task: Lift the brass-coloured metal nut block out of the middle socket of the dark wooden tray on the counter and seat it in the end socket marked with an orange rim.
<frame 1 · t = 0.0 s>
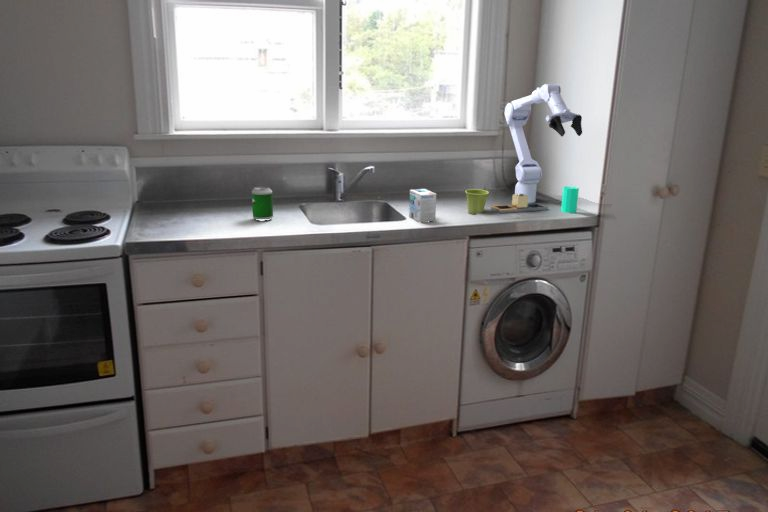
hand: (572, 134, 249), 32 cm above the worktop, tool tilted 50°, fingers open, 7 cm apart
light bulb box: (422, 219, 253), on the worktop
plant pot: (475, 213, 264), on the worktop
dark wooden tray: (519, 211, 267), on the worktop
candle: (568, 213, 266), on the worktop
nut: (519, 209, 267), point 1 cm above the worktop, touching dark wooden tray
soda can: (263, 220, 248), on the worktop
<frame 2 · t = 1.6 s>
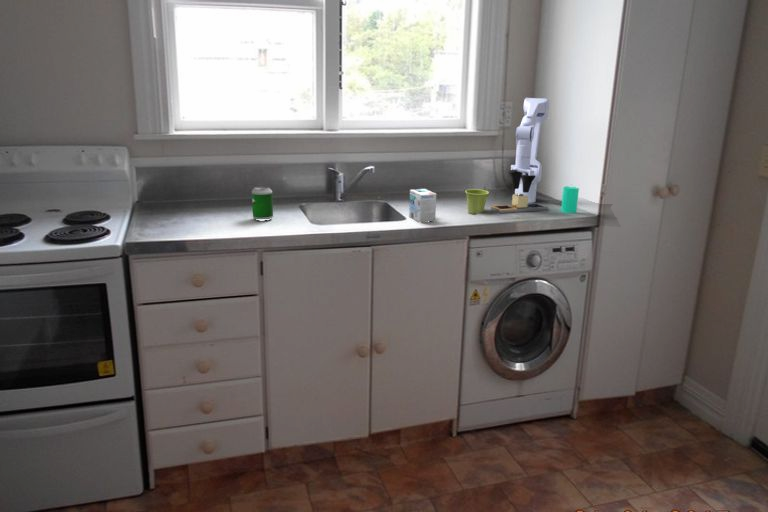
hand: (520, 190, 265), 9 cm above the worktop, tool pointing down, fingers open, 7 cm apart
nothing on the worktop moved.
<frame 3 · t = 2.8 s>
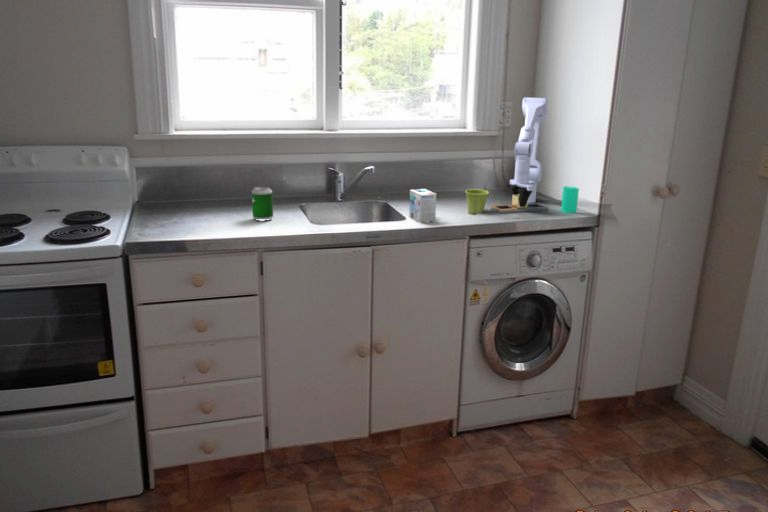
hand: (519, 205, 266), 3 cm above the worktop, tool pointing down, fingers closed on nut, 4 cm apart
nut: (519, 209, 267), point 1 cm above the worktop, touching gripper, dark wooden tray
everything else where it was.
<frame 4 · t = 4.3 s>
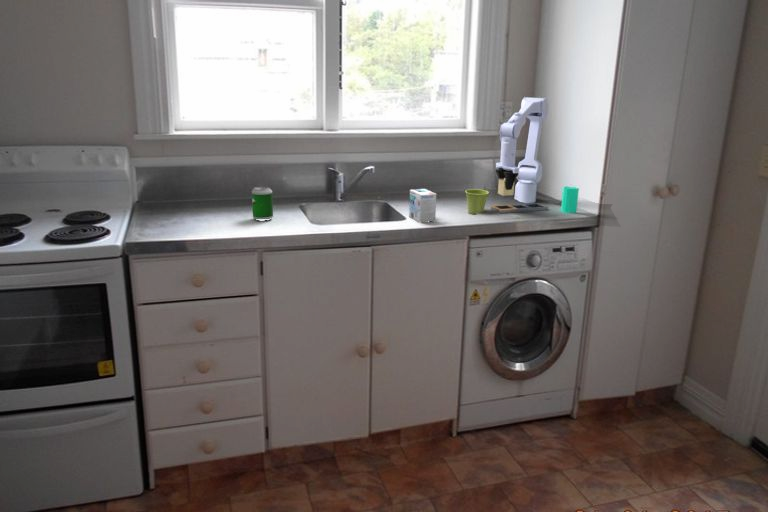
hand: (505, 188, 262), 10 cm above the worktop, tool pointing down, fingers closed on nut, 4 cm apart
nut: (505, 194, 263), point 8 cm above the worktop, touching gripper
everything else where it was.
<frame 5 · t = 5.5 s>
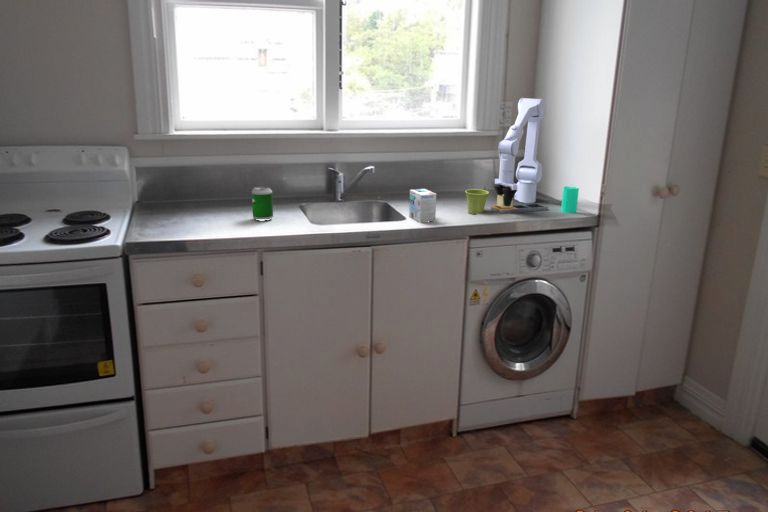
hand: (504, 204, 264), 3 cm above the worktop, tool pointing down, fingers closed on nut, 4 cm apart
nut: (504, 210, 265), point 1 cm above the worktop, touching gripper
everything else where it was.
when the fingers open (3 cm above the worktop, at t = 6.1 s): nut stays where it is, resting on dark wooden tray.
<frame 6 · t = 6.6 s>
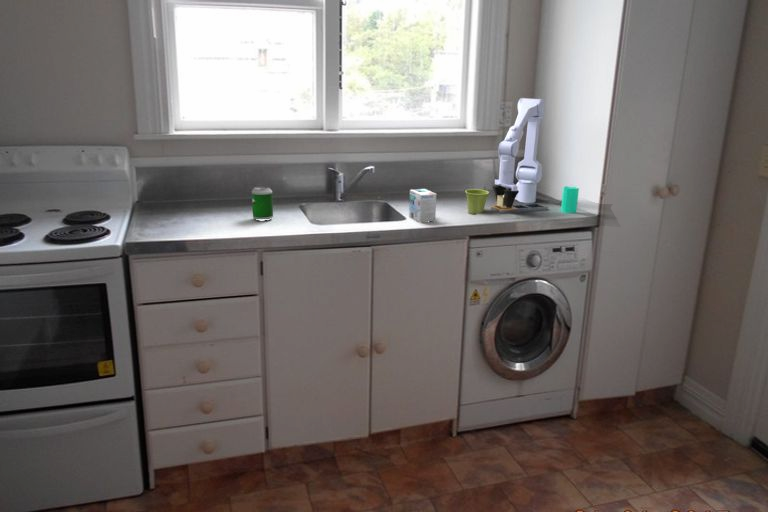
hand: (504, 205, 264), 3 cm above the worktop, tool pointing down, fingers open, 7 cm apart
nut: (504, 210, 265), point 1 cm above the worktop, touching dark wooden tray
everything else where it was.
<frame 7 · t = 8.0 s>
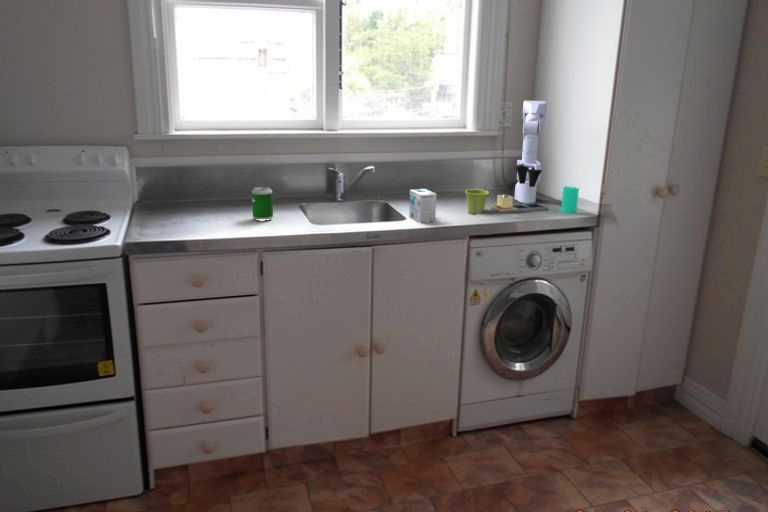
hand: (527, 185, 267), 10 cm above the worktop, tool pointing down, fingers open, 7 cm apart
nothing on the worktop moved.
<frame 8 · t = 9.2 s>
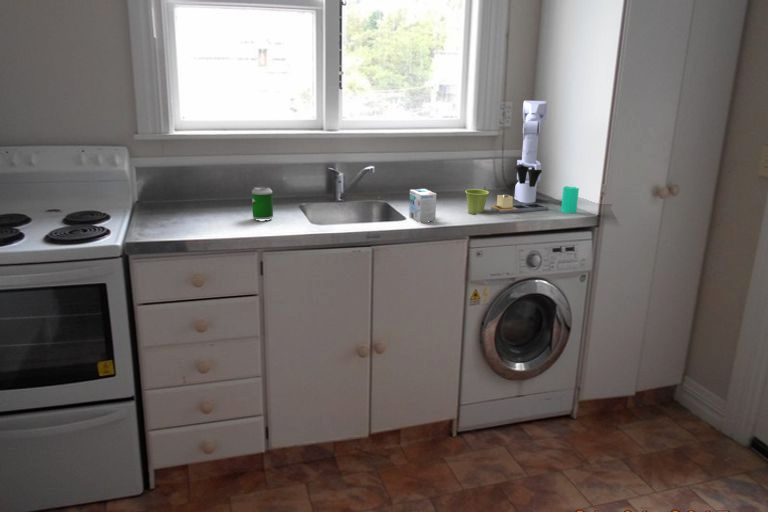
hand: (527, 185, 267), 10 cm above the worktop, tool pointing down, fingers open, 7 cm apart
nothing on the worktop moved.
at the end: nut 0.1 cm from the target spot on the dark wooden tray, point 0.8 cm above the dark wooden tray's base; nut tilted 0°; the gripper is holding nothing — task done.
